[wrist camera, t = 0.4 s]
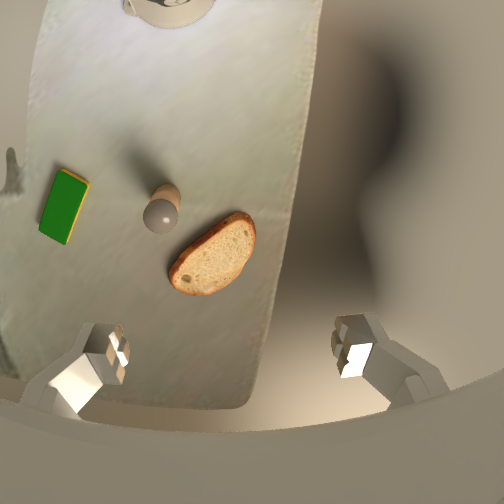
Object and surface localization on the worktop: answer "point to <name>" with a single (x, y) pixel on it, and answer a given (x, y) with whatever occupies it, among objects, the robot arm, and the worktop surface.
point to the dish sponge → (63, 206)
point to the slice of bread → (215, 257)
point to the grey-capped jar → (162, 209)
